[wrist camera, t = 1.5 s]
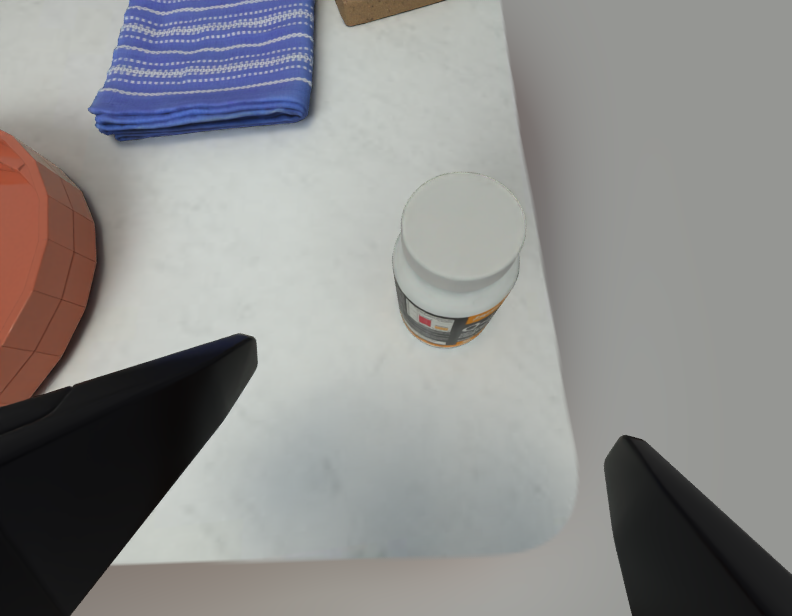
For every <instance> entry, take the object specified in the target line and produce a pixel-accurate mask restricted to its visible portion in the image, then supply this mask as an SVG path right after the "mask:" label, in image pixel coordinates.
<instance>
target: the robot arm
mask: <svg viewBox="0 0 792 616" xmlns="http://www.w3.org/2000/svg"><path fill="white" fill-rule="evenodd" d="M257 364H258V358H257V343H256V339H255V338H254V337H253V336H249V335H245V334H241V333H238V334H235V335H232V336H229V337H225V338H222V339H219V340H216V341H213V342H209V343H206V344H203V345H200V346H197V347H193V348H190V349H187V350H184V351H181V352H177V353H174V354H171V355H168V356H164V357H161V358H158V359H155V360H152V361H148V362H145V363H142V364H139V365H136V366H132V367H129V368H126V369H123V370H120V371H116V372H113V373H110V374H107V375H104V376H100V377H97V378H94V379H91V380H88V381H84V382H81V383H78V384H75V385H74V386H73V387H71V386H68V387H65V388H62V389H59V390H55V391H52V392H49V393H46V394H43V395H39V396H36V397H33V398H29V399H26V400H23V401H19V402H16V403H13V404H9V405H5V406H2V407H0V616H70V615H71V614H72V613H73V611H74V610H75V609H76V608H77V606H78V605H79V604H80V603H81V601H82V600H83V599H84V597H85V596H86V595H87V594H88V592H89V591H90V590H91V589H92V587H93V586H94V585H95V584H96V582H97V581H98V580H99V578H100V577H101V576H102V575H103V573H104V572H105V571H106V570H107V568H108V567H109V566H110V564H111V563H112V562H113V561H114V559H115V558H116V557H117V556H118V554H119V553H120V552H121V550H122V549H123V548H124V547H125V545H126V544H127V543H128V542H129V540H130V539H131V538H132V537H133V535H134V534H135V533H136V531H137V530H138V529H139V528H140V526H141V525H142V524H143V523H144V521H145V520H146V519H147V517H148V516H149V515H150V514H151V512H152V511H153V510H154V509H155V507H156V506H157V505H158V503H159V502H160V501H161V500H162V498H163V497H164V496H165V495H166V493H167V492H168V491H169V489H170V488H171V487H172V486H173V484H174V483H175V482H176V481H177V479H178V478H179V477H180V475H181V474H182V473H183V472H184V470H185V469H186V468H187V467H188V465H189V464H190V463H191V462H192V460H193V459H194V458H195V456H196V455H197V454H198V453H199V451H200V450H201V449H202V448H203V446H204V445H205V444H206V442H207V441H208V440H209V439H210V437H211V436H212V435H213V434H214V432H215V431H216V430H217V428H218V427H219V426H220V425H221V423H222V422H223V421H224V419H225V418H226V416H227V415H228V413H229V412H230V410H231V409H232V407H233V405H234V404H235V402H236V401H237V399H238V397H239V396H240V394H241V393H242V391H243V390H244V388H245V386H246V385H247V383H248V382H249V380H250V379H251V377H252V375H253V374H254V372H255V370H256V368H257ZM604 472H605V480H606V487H607V494H608V502H609V510H610V517H611V525H612V531H613V537H614V542H615V546H616V551H617V555H618V559H619V563H620V567H621V571H622V575H623V580H624V584H625V588H626V592H627V596H628V600H629V605H630V609H631V613H632V616H792V574H791V573H790V572H788V571H787V570H786V569H785V568H784V567H783V566H782V565H781V564H780V563H779V562H777V561H776V560H775V559H774V558H773V557H772V556H771V555H770V554H769V553H767V552H766V551H765V550H764V549H763V548H762V547H761V546H760V545H759V544H758V543H757V542H755V541H754V540H753V539H752V538H751V537H750V536H749V535H748V534H747V533H746V532H745V531H743V530H742V529H741V528H740V527H739V526H738V525H737V524H736V523H735V522H733V521H732V520H731V519H730V518H729V517H728V516H727V515H726V514H725V513H724V512H723V511H721V510H720V509H719V508H718V507H717V506H716V505H715V504H714V503H713V502H712V501H710V500H709V499H708V498H707V497H706V496H705V495H704V494H702V492H701V491H699V490H698V489H697V488H696V487H695V486H694V485H693V484H692V483H691V482H690V481H688V480H687V479H686V478H685V477H684V476H683V475H682V474H681V473H680V472H679V471H678V470H676V469H675V468H674V467H673V466H672V465H671V464H670V463H669V462H668V461H666V460H665V459H664V458H663V457H662V456H661V455H660V454H659V453H658V452H657V451H655V450H654V449H653V448H652V447H651V446H650V445H649V444H648V443H647V442H646V441H644V440H642V439H639V438H635V437H631V436H627V435H623V436H621V437H620V438H619V439H618V440H617V442H616V443H615V445H614V446H613V448H612V449H611V451H610V452H609V454H608V455H607V457H606V459H605V463H604Z"/></svg>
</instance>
